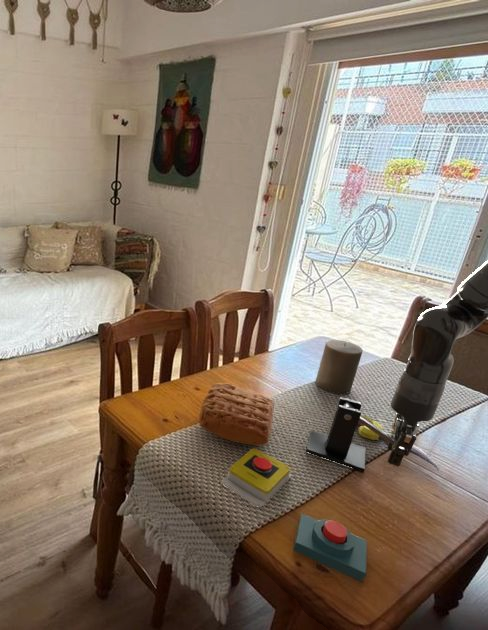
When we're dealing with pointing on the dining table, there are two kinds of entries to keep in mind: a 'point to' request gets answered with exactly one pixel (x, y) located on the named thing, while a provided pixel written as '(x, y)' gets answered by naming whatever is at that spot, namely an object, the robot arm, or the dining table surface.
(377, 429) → the lever
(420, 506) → the dining table surface
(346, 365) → the pillar candle
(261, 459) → the emergency button
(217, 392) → the inscribed clay slab
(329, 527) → the button
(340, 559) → the button block
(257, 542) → the dining table surface
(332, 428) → the black lever stand
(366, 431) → the knife
